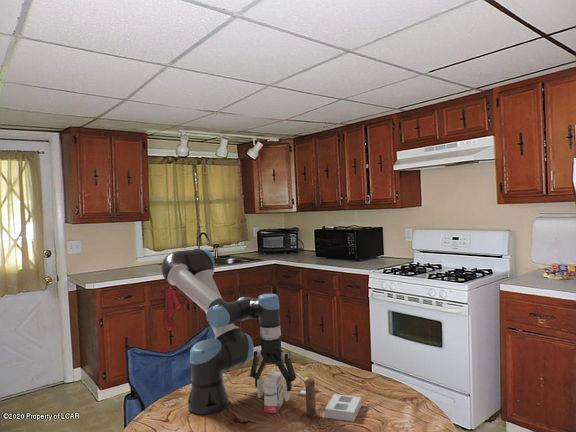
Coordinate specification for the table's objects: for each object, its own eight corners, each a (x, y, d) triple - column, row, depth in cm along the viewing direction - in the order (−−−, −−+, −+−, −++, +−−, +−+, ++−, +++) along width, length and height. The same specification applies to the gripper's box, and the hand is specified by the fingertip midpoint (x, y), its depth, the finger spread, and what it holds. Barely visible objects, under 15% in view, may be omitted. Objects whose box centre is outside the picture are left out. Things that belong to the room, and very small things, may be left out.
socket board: (325, 417, 142) (324, 408, 142) (334, 402, 153) (334, 394, 153) (353, 421, 138) (353, 412, 138) (361, 405, 149) (361, 397, 149)
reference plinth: (297, 395, 161) (296, 383, 161) (304, 387, 168) (304, 375, 168) (307, 396, 159) (306, 384, 159) (313, 388, 167) (313, 376, 167)
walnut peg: (305, 417, 143) (303, 382, 143) (308, 412, 146) (306, 378, 146) (314, 418, 142) (312, 383, 142) (317, 414, 145) (315, 379, 145)
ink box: (277, 413, 146) (276, 380, 146) (264, 412, 148) (262, 379, 148) (284, 402, 155) (282, 371, 155) (271, 402, 156) (269, 370, 156)
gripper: (238, 338, 152) (241, 398, 152) (295, 342, 144) (299, 406, 143) (247, 332, 159) (250, 390, 159) (303, 336, 151) (306, 397, 150)
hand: (273, 397), depth 151 cm, fingers open, 10 cm apart
